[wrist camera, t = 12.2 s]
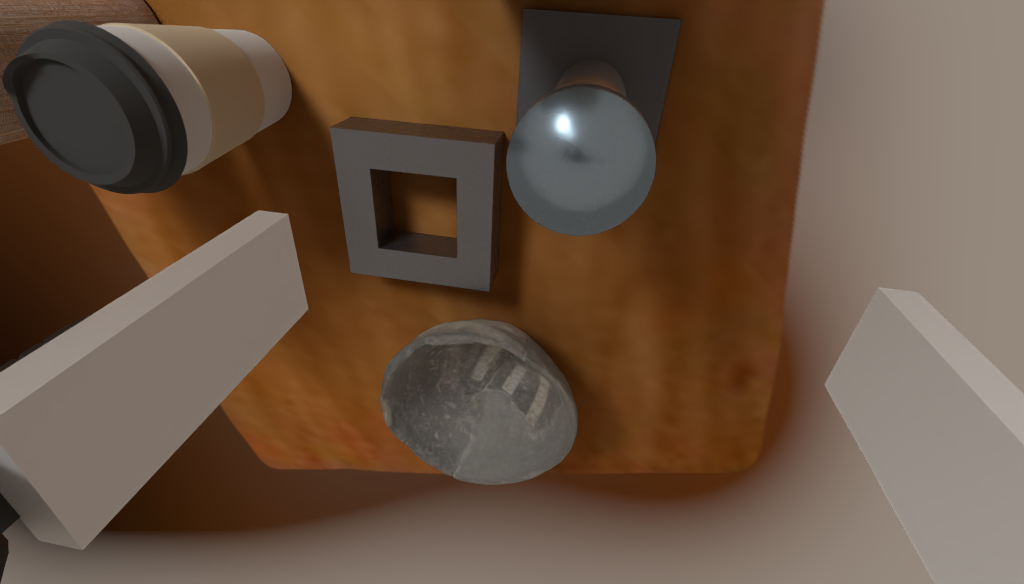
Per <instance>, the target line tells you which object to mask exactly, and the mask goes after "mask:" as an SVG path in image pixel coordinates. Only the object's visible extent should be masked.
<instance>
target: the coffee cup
mask: <svg viewBox="0 0 1024 584" xmlns="http://www.w3.org/2000/svg"><path fill="white" fill-rule="evenodd" d="M2 82H3V86H4V88H5V90H6V92H7V93H8V95H9V96H10V98H11V99H12V101H13V105H14V108H15V111H16V114H17V116H18V118H19V120H20V122H21V124H22V126H23V128H24V130H25V131H26V133H27V134H28V136H29V137H30V139H32V141H33V142H34V144H35V145H36V146H37V147H38V149H40V151H41V152H42V153H43V154H44V155H45V156H46V157H47V158H48V159H49V160H51V161H52V162H53V163H54V164H55V165H57V166H58V167H59V168H61V169H62V170H64V171H65V172H67V173H68V174H70V175H72V176H74V177H76V178H78V179H80V180H83V181H86V182H88V183H90V184H92V185H95V186H97V187H99V188H102V189H105V190H108V191H111V192H115V193H121V194H136V193H154V192H159V191H162V190H165V189H167V188H169V187H170V186H172V185H173V184H174V183H175V182H176V181H177V180H178V179H179V178H180V176H181V175H187V174H190V173H193V172H195V171H197V170H199V169H200V168H202V167H204V166H205V165H207V164H209V163H210V162H212V161H214V160H215V159H217V158H219V157H220V156H222V155H224V154H226V153H227V152H229V151H231V150H232V149H234V148H236V147H237V146H239V145H241V144H242V143H244V142H246V141H247V140H249V139H251V138H252V137H253V136H254V135H255V134H256V133H258V132H259V131H261V130H263V129H265V128H267V127H268V126H270V125H272V124H274V123H275V122H277V121H279V120H280V119H281V118H282V117H283V116H284V115H285V114H286V112H287V111H288V109H289V106H290V103H291V98H292V86H291V80H290V76H289V73H288V70H287V68H286V66H285V64H284V62H283V60H282V58H281V57H280V55H279V54H278V53H277V51H276V50H275V49H274V48H273V47H272V46H271V45H270V44H269V43H268V42H267V41H265V40H264V39H262V38H261V37H259V36H258V35H256V34H253V33H251V32H248V31H244V30H224V29H208V28H204V27H197V26H175V25H153V24H131V23H106V24H102V25H99V26H95V25H92V24H89V23H85V22H80V21H73V20H64V21H57V22H54V23H51V24H49V25H47V26H45V27H43V28H40V29H37V30H35V31H33V32H32V33H30V34H29V35H28V36H27V37H26V38H25V39H24V40H23V42H22V43H21V45H20V47H19V49H18V52H17V55H16V58H15V59H13V60H12V61H11V62H10V63H9V64H8V65H7V67H6V69H5V71H4V74H3V77H2Z"/></svg>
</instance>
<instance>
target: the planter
mask: <svg viewBox="0 0 1024 584" xmlns="http://www.w3.org/2000/svg"><path fill="white" fill-rule="evenodd" d="M64 20H73V21H80V22H85V23H89V24H92V25H95V26H99V25H102V24H106V23H131V24H153V25H159V23H158V21H157V19H156V18H155V16H154V15H153V13H152V11H151V10H150V8H149V7H148V6H147V4H146V3H145V2H144V1H143V0H0V144H4V143H8V142H12V141H16V140H20V139H24V138H28V137H29V136H28V134H27V133H26V131H25V130H24V128H23V126H22V124H21V122H20V120H19V118H18V116H17V114H16V111H15V108H14V105H13V101H12V99H11V98H10V96H9V95H8V93H7V92H6V90H5V88H4V86H3V82H2V77H3V74H4V71H5V69H6V67H7V65H8V64H9V63H10V62H11V61H12V60H13V59H15V58H16V55H17V52H18V49H19V47H20V45H21V43H22V42H23V40H24V39H25V38H26V37H27V36H28V35H29V34H30V33H32V32H33V31H35V30H37V29H40V28H43V27H45V26H47V25H49V24H51V23H54V22H57V21H64Z"/></svg>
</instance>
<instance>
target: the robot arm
mask: <svg viewBox="0 0 1024 584" xmlns="http://www.w3.org/2000/svg"><path fill="white" fill-rule="evenodd" d="M307 310H308V305H307V300H306V295H305V291H304V286H303V281H302V277H301V272H300V267H299V262H298V258H297V253H296V248H295V244H294V239H293V234H292V230H291V225H290V220H289V216H288V214H284V213H276V212H268V211H260V210H258V211H256V212H255V213H253V214H252V215H250V216H248V217H247V218H245V219H244V220H242V221H240V222H239V223H237V224H236V225H234V226H232V227H231V228H229V229H228V230H226V231H225V232H223V233H221V234H220V235H218V236H217V237H215V238H213V239H212V240H210V241H209V242H207V243H205V244H204V245H202V246H201V247H199V248H197V249H196V250H194V251H193V252H191V253H189V254H188V255H186V256H185V257H183V258H182V259H180V260H178V261H177V262H175V263H174V264H172V265H170V266H169V267H167V268H166V269H164V270H162V271H161V272H159V273H158V274H156V275H154V276H153V277H151V278H150V279H148V280H147V281H145V282H143V283H142V284H140V285H139V286H137V287H135V288H134V289H132V290H131V291H129V292H128V293H126V294H125V295H123V296H121V297H119V298H118V299H116V300H115V301H113V302H112V303H110V304H108V305H107V306H105V307H104V308H102V309H100V310H99V311H97V312H96V313H94V314H91V315H89V316H86V317H84V318H82V319H79V320H76V321H74V322H72V323H70V324H69V325H67V326H66V327H64V328H62V329H61V330H59V331H58V332H56V333H54V334H53V335H51V336H49V337H48V338H46V339H45V340H44V343H43V344H37V345H35V346H33V347H32V348H30V349H29V350H27V351H25V352H24V353H22V354H20V355H19V356H20V357H19V359H18V360H15V359H12V360H11V361H9V362H8V363H6V364H4V365H3V366H1V367H0V582H1V579H2V575H3V571H4V567H5V563H6V560H7V556H8V553H9V552H8V540H7V539H6V538H5V537H4V535H3V534H2V533H3V532H4V531H5V530H6V529H7V528H8V527H9V526H11V525H12V524H13V523H14V522H15V521H16V520H17V519H18V518H20V519H21V520H22V521H23V522H24V524H25V525H26V526H27V527H28V528H29V529H30V531H32V533H33V534H34V535H35V536H36V538H37V539H38V540H40V541H44V542H48V543H53V544H58V545H63V546H67V547H72V548H76V549H81V550H83V549H84V548H85V547H86V546H87V545H88V544H89V543H90V542H91V541H92V540H93V539H94V537H95V536H96V535H97V534H98V533H99V532H100V531H101V530H102V529H103V528H104V527H105V526H106V525H107V524H108V523H109V521H110V520H111V519H112V518H113V517H114V516H115V515H116V514H117V513H118V512H119V511H120V510H121V509H122V507H124V505H125V504H126V503H127V502H128V501H129V500H130V499H131V498H132V497H133V496H134V495H135V494H136V492H137V491H139V489H140V488H141V487H142V486H143V485H144V484H145V483H146V482H147V481H148V480H149V478H151V477H152V476H153V475H154V473H155V472H156V471H157V470H158V469H159V468H160V467H161V466H162V465H163V464H164V463H165V461H167V460H168V458H169V457H170V456H171V455H172V454H173V453H174V452H175V451H176V450H177V449H178V448H179V447H180V446H181V445H182V444H183V442H184V441H185V440H186V439H187V438H188V437H189V436H190V435H191V434H192V433H193V432H194V431H195V430H196V429H197V427H198V426H199V425H200V424H201V423H202V422H203V421H204V420H205V419H206V418H207V417H208V416H209V415H210V413H212V411H214V409H215V408H216V407H217V406H218V405H219V404H220V403H221V402H222V401H223V400H224V399H225V398H226V397H227V396H228V394H229V393H230V392H231V391H232V390H233V389H234V388H235V387H236V386H237V385H238V384H239V383H240V382H241V381H242V380H243V378H244V377H245V376H246V375H247V374H248V373H249V372H250V371H251V370H252V369H253V368H254V367H255V366H256V365H257V364H258V362H259V361H260V360H261V359H262V358H263V357H264V356H265V355H266V354H267V353H268V352H269V351H270V350H271V349H272V348H273V346H274V345H275V344H276V343H277V342H278V341H279V340H280V339H281V338H282V337H283V336H284V335H285V334H286V333H287V332H288V330H289V329H290V328H291V327H292V326H293V325H294V324H295V323H296V322H297V321H298V320H299V319H300V318H301V317H302V316H303V314H304V313H305V312H306V311H307ZM824 385H825V387H826V389H827V391H828V393H829V394H830V396H831V398H832V400H833V402H834V403H835V405H836V407H837V409H838V411H839V412H840V414H841V416H842V418H843V420H844V421H845V423H846V425H847V427H848V429H849V430H850V432H851V434H852V436H853V438H854V439H855V441H856V443H857V445H858V447H859V448H860V450H861V452H862V454H863V456H864V457H865V459H866V461H867V463H868V464H869V466H870V468H871V470H872V472H873V474H874V475H875V477H876V479H877V481H878V482H879V484H880V486H881V488H882V490H883V492H884V493H885V495H886V497H887V499H888V501H889V502H890V504H891V506H892V508H893V510H894V511H895V513H896V515H897V517H898V518H899V520H900V522H901V524H902V526H903V528H904V529H905V531H906V533H907V535H908V536H909V538H910V540H911V542H912V544H913V546H914V547H915V549H916V551H917V553H918V555H919V556H920V558H921V560H922V562H923V564H924V565H925V567H926V569H927V571H928V573H929V574H930V576H931V578H932V580H933V582H934V583H935V584H1024V394H1023V393H1022V392H1021V391H1020V390H1019V389H1018V388H1017V387H1016V386H1015V385H1014V384H1013V383H1012V382H1011V381H1010V380H1008V379H1007V377H1005V376H1004V375H1003V374H1002V373H1001V372H1000V371H999V370H998V369H997V368H996V367H995V366H994V365H993V364H992V363H991V362H990V361H989V360H988V359H986V358H985V356H983V354H981V353H980V352H979V351H978V350H977V349H976V348H975V347H974V346H973V345H972V344H971V343H970V342H969V341H968V340H967V339H966V338H965V337H964V336H963V335H962V334H961V333H960V332H959V331H958V330H957V329H956V328H955V327H953V325H951V324H950V323H949V322H948V321H947V320H946V319H945V318H944V317H943V316H942V315H941V314H940V313H939V312H938V311H937V310H936V309H935V308H934V307H933V306H932V305H931V304H930V303H929V302H928V301H927V300H925V299H924V298H923V297H922V296H921V295H920V294H919V293H918V292H913V291H905V290H897V289H889V288H881V287H878V288H877V290H876V292H875V294H874V295H873V297H872V299H871V301H870V303H869V305H868V306H867V308H866V310H865V312H864V313H863V315H862V317H861V319H860V321H859V322H858V324H857V326H856V328H855V330H854V332H853V333H852V335H851V337H850V339H849V341H848V342H847V344H846V346H845V348H844V350H843V352H842V353H841V355H840V357H839V359H838V361H837V363H836V364H835V366H834V368H833V370H832V372H831V373H830V375H829V377H828V379H827V380H826V383H825V384H824Z"/></svg>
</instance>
